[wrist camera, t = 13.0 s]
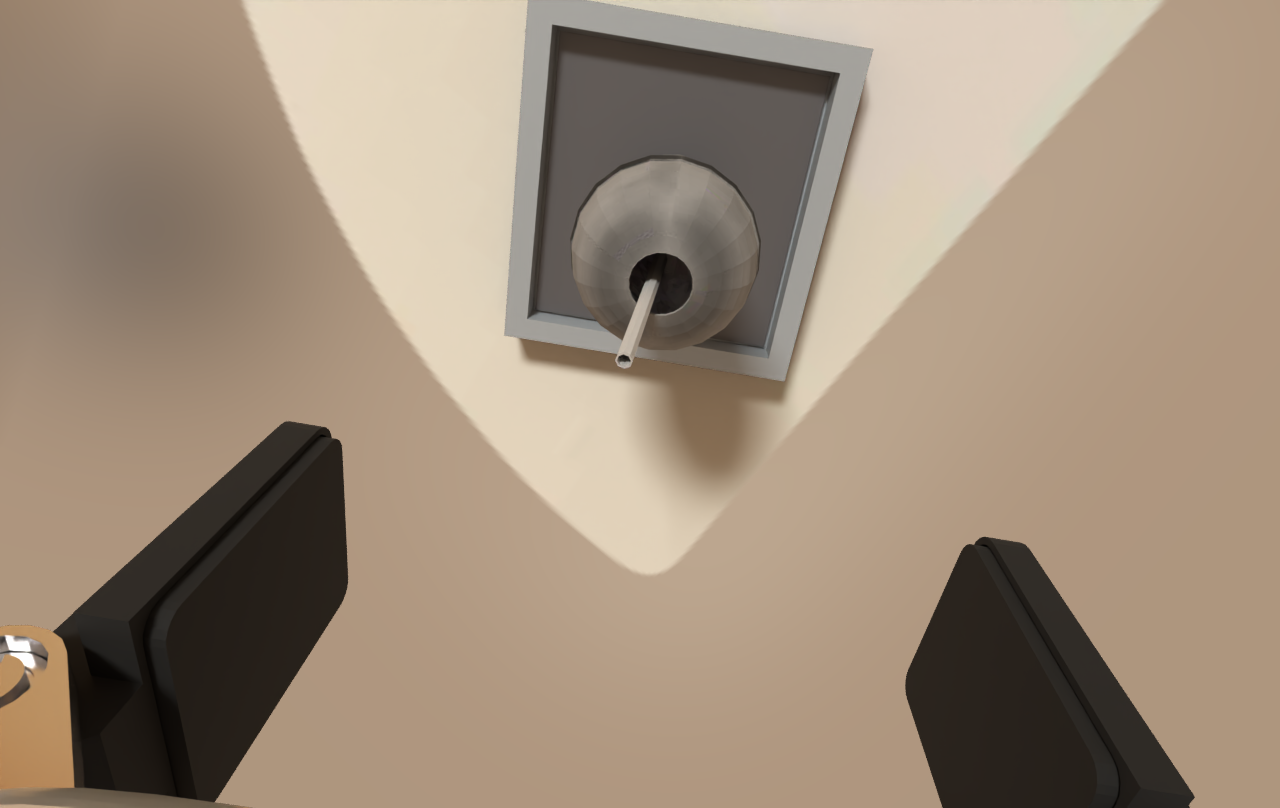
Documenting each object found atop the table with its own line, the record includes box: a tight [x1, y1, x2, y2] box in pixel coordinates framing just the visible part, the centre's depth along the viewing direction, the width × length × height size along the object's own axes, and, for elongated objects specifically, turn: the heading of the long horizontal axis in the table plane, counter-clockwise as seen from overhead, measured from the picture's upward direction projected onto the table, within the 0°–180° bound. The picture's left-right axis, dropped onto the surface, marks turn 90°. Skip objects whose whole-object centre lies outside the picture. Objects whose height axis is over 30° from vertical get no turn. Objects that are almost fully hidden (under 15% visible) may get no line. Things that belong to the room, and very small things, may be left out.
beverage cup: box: [570, 155, 761, 369], centre depth 28 cm, size 7×7×20 cm
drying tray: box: [504, 0, 873, 382], centre depth 38 cm, size 16×17×2 cm
